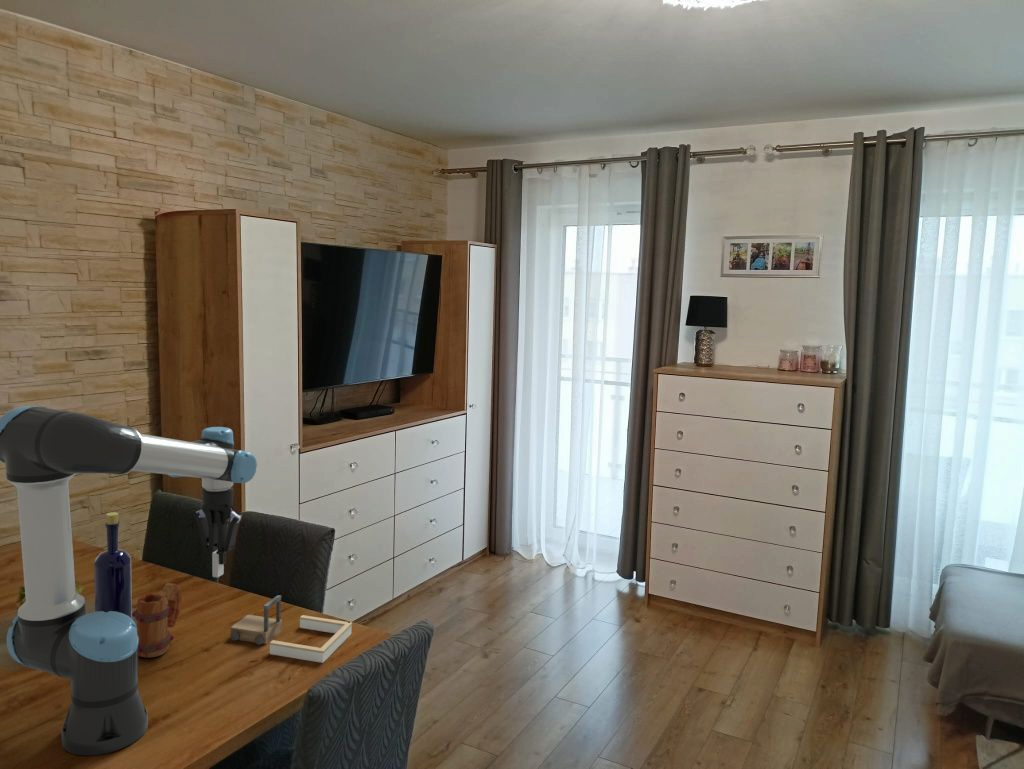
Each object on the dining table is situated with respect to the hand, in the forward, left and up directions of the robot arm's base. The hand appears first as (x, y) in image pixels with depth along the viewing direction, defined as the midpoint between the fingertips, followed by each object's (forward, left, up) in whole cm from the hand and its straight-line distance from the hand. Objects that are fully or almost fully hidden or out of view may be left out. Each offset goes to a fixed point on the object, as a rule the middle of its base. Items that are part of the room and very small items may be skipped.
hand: (218, 575), depth 195 cm
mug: (-14, +7, -15) cm, 21 cm away
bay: (0, -26, -14) cm, 30 cm away
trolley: (0, -11, -15) cm, 19 cm away
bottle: (-7, +26, -15) cm, 30 cm away
